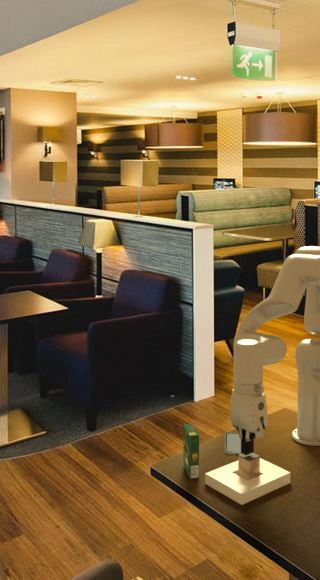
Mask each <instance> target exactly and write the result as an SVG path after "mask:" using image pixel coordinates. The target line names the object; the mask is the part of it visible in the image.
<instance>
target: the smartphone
mask: <svg viewBox="0 0 320 580" xmlns="http://www.w3.org/2000/svg"><path fill="white" fill-rule="evenodd" d="M225 453H226V455H236V454H238V455H239V454H242V453H241V439H240V437H239V432H225V433H224V454H225Z"/></svg>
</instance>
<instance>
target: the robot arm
mask: <svg viewBox="0 0 320 580" xmlns="http://www.w3.org/2000/svg"><path fill="white" fill-rule="evenodd" d="M305 292H306V296H305V305H304V316H303V327H304V330H305V331H306V332H307V333H309V334H311V335H315V336H319V337H320V246H318V245H317V246H315V245H309V246H301V247H299V248H297V250H295V253H294V254H291V255H288V256H287V257H286V258H285V259H284V262H283V263H282V265H281V268H280V270H279V272H278V275H277V277H276V280H275V281H274V284H273V287H272V289H271V291H270V293H269V295H268V297H266V298H265V299H264V300H262V301H260V302H259V303H258V304H256V305H255V306H254V307H253V308H251V309H250V310H249V311H248V312H247V313H246V314H245V315H244V317H243V318H242V320H241V322H240V323H239V326H238V329H237V331H236V333H235V336H234V339H233V389H232V391H231V396H230V402H229V403H230V404H229V405H230V406H229V420H230V423H231V425H232V427H234V429H236V430H237V433H239V437H240V439H241V453H242V454H244V455H248V454H250V453H255V451H254V450H255V449H254V447H255V439H261V438H263V437H264V436H265V433H264V430H267V429H268V406H267V399H266V395H265V393H264V392H265V388H264V387H263V381H264V379H263V374H264V366H268V365H269V366H270V365H275V364H278V363H280V362H281V361H282V360H284V358H285V357H286V354H287V351H288V350H287V349H288V348H287V342H286V341H285V340H284V338H281V337H280V336H278V335H273V334H268V333H262V332H258V330H259V329H260V327H262V326H263V324H265V323H267V322H269V321H271V320H274V319H277V318H280V317H283V316H287V315H290V314H293V313H295V312H296V311H297V310H298V309H299V306H300V304H301V302H302V299H303V296H304V294H305ZM294 352H295V353H294V356H295V357H294V359H295V362H296V364H295V365H296V369H297V408H296V409H297V413H296V415H297V418H296V419H297V421H296V422H297V423H296V428H295V429H294V430H292V431H291V432H292V433H291V437H292V439H293V440H294V441H295V442H297V443H299V444H302V445H306V446H313V447H320V339H316V338H305V339H302V340H301V341H299V342H298V343H297V345H296V347H295V350H294Z"/></svg>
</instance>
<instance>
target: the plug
mask: <svg viewBox="0 0 320 580" xmlns="http://www.w3.org/2000/svg"><path fill="white" fill-rule="evenodd" d="M260 458H261V456H260V455H259V454H256V453H255V452H253V453H250V454H248V455H244V454H239V455H238V460H237V461H238V476H240V477H242V478H244V479H245V480H247V481H248V480H250V479H253V478H255V477H257V476H260Z"/></svg>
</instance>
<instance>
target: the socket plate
mask: <svg viewBox="0 0 320 580" xmlns="http://www.w3.org/2000/svg"><path fill="white" fill-rule="evenodd" d="M204 483H205V485H207V486H208V487H210V488H212V489H213V490H215V491H217V492H219V493H220V494H222V495H224V496H226V497H228V498H229V499H231V500H232V501H234V502H235V503H237V504H239V505H241V506H243V505H245V504H247V503H249V502H251V501H254V500H256V499H259V498H261V497H264V496H265V495H267V494H268V493H271V492H273V491H276V490H278V489H280V488H282V487H285V486H287V485H289V484H291V471H288V470H286V469H284V468H282V467H281V466H278V465H276V464H274V463H272V462H270V461H268V460H265V459H263V458H261V457H260V476H257V477H255V478H253V479H250V480H248V481H247V480H245V479H244V478H242V477H240V476H238V460H236V461H233V462H231V463H228V464H225V465H223V466H220V467H217V468H215V469H212V470H210V471H208V472H205V473H204Z"/></svg>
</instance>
